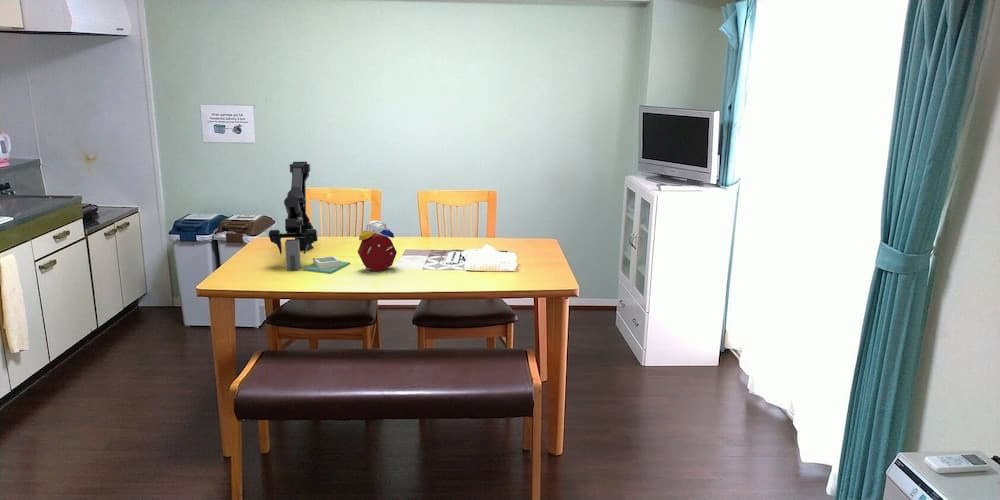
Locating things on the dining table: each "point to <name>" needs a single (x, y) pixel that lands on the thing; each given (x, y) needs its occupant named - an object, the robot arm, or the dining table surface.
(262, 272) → the dining table surface
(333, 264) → the header board
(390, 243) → the alarm clock
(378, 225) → the photo printer
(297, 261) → the grey rectangular block
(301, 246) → the robot arm
